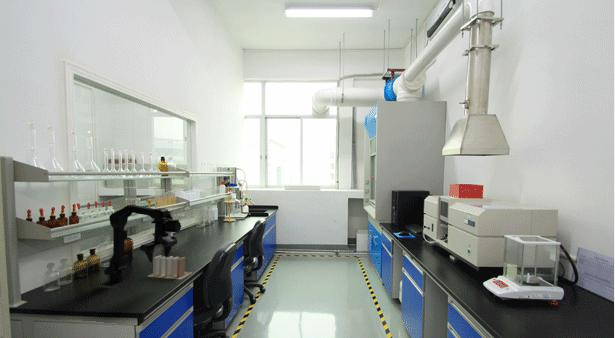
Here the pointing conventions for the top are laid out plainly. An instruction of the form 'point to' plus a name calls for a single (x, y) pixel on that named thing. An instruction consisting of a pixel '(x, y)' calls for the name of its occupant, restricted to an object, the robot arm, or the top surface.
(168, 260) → the domino
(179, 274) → the domino
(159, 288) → the top surface
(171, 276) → the beige flat rectangular board
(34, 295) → the top surface
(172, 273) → the domino
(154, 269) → the domino
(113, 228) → the robot arm
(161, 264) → the domino
